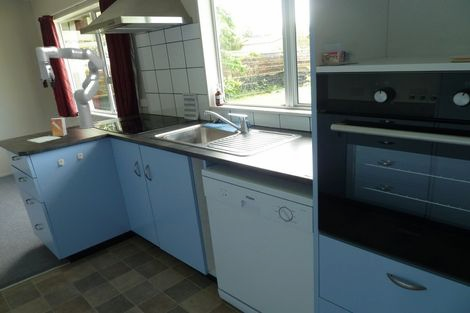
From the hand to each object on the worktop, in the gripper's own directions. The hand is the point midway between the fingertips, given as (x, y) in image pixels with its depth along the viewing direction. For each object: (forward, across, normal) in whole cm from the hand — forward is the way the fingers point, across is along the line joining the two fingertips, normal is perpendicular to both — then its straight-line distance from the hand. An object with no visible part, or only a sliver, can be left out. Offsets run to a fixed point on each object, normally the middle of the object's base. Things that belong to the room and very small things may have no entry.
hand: (49, 87), depth 256 cm
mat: (+36, -9, +18) cm, 41 cm away
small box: (+36, -10, +6) cm, 38 cm away
